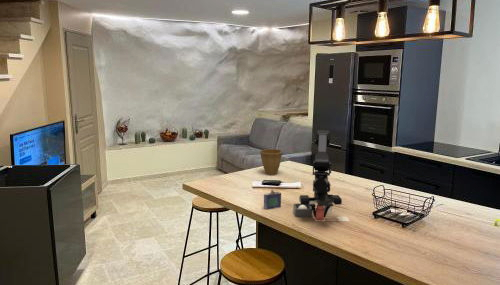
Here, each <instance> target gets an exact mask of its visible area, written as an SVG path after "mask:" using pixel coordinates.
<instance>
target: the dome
mask: <svg viewBox="0 0 500 285" xmlns="http://www.w3.org/2000/svg"><path fill="white" fill-rule="evenodd" d="M298 209H307V207H306V206H305V205H300V206H299V207H298Z"/></svg>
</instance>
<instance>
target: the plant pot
mask: <svg viewBox="0 0 500 285" xmlns="http://www.w3.org/2000/svg"><path fill="white" fill-rule="evenodd" d="M259 153H260V158H261V163H262V166H263V170H264V173H265V175H266V176H267V175H268V176H275V175H277V174H278V172H279V171H278V170H279V168H280V165H281V160H282V156H283V154H282V153H283V150H281V149H277V148H275V149H274V148H268V149H267V148H266V149H262V150H260V152H259Z"/></svg>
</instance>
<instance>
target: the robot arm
mask: <svg viewBox="0 0 500 285" xmlns="http://www.w3.org/2000/svg"><path fill="white" fill-rule="evenodd" d="M314 140H315V144H316V146H317V154H316V155H315V156H314V160H313V162H312V176H314V180H313V182H312V192H313V194H314V195H313V197H309V195H308V194H302V195H300V196H299V204H302V205H309V206H311V208H312V215H313V217H315V218H316V207H317V205H319V206H324V218H325V217H327V216H326V215H327V211H328V209H329V208H330V207H331V206H332V207H334V205H339V206H340V205H342V202H343V200H342V198H341V196H340V195H338V194H329V193H330V192H331V183H330V181H329V177H330V176H331V174H332V162H331V161H330V157H329V155H328V154H327V148H328V147H329V145H330V144H331V143H330V141H331V140H332V132H330V130H321V129H319V130H317V131H315V132H314ZM328 176H329V177H328ZM315 203H317V205H316V204H315ZM325 219H326V218H325Z"/></svg>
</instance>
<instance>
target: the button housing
mask: <svg viewBox="0 0 500 285" xmlns="http://www.w3.org/2000/svg"><path fill="white" fill-rule="evenodd" d="M300 205H302V204H301V203H293V205H292V206H293V209H292V210H293V215H294V217H296V218H313V211H312V208H311V206H309V205H305V206H306V207H307V209H298V207H299V206H300Z"/></svg>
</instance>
